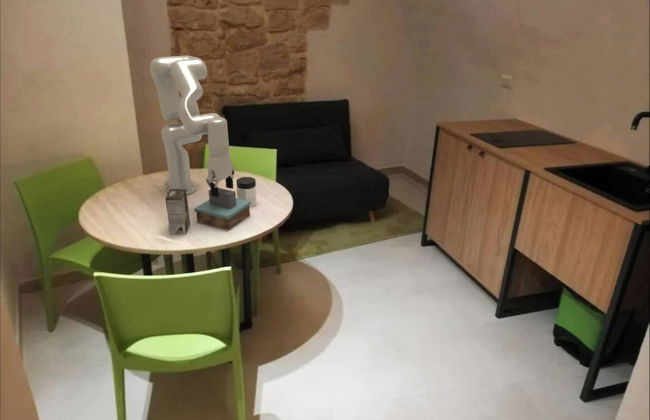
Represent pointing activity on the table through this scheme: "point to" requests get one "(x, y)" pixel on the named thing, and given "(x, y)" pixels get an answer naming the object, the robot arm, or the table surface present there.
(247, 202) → the lid
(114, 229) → the table surface
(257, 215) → the table surface
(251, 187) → the jar
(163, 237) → the table surface
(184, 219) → the coffee box
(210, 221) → the box
